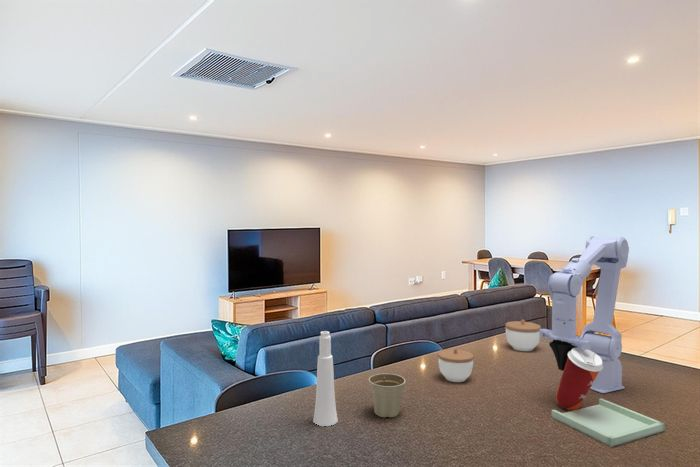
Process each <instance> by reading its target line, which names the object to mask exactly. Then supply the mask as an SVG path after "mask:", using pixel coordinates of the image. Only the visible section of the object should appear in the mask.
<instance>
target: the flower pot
mask: <svg viewBox="0 0 700 467" xmlns="http://www.w3.org/2000/svg"><path fill="white" fill-rule="evenodd" d="M368 383H369V384H370V387H371V388H370V389H371V394H372V400H373V409H374V410H373V411H374V414H375V415H377V416H378V417H380V418H387V417H388V418H395V417H397V416H398V415H399V413H400V407H401V400H402V394H403V389H404V386H405V384H406V379H405V377H403V376H402V375H399V374H395V373H377V374H372V375H371V376H370V377H368Z"/></svg>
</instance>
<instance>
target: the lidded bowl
mask: <svg viewBox="0 0 700 467" xmlns="http://www.w3.org/2000/svg"><path fill="white" fill-rule="evenodd" d="M504 325H505V326H504V327H505V336H506V340H507V342H508V344H509V346H511V347H512V349H513V350H515V351H519V352H531V351H533V350H534V349H535V348H536V347H537V346H538V344H539V342H540V339H541V336H539V330H540V329H542V326H541V325H540V324H537V323H535V322H530V321H526V320H525V319H520V320H519V321H518V320H516V321H514V320H513V321H507V322H505V324H504Z"/></svg>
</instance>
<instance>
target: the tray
mask: <svg viewBox="0 0 700 467" xmlns="http://www.w3.org/2000/svg"><path fill="white" fill-rule="evenodd" d="M551 418H552V419H554V420H555V421H558V422H560V423H561V424H563V425H565V426H567V427H570V428H572V429H574V430H576V431H578V432H580V433H582V434H584V435H586V436H589V437H590V438H592V439H594V440H596V441H598V442H600V443H602V444H604V445H606V446H609V447H610V448H614V447H617V446H621V445H623V444H624V445H625V444H627V443H630V442H634V441H637V440H640V439H644V438H646V437H650V436H653V435H656V434H660V433H663V432H665V428H666V427H665V423H664V422H661V421H659V420H657V419H654V418H652V417H649V416H646V415H644V414H642V413H639V412H636V411H634V410H631V409H629V408H627V407H624V406H622V405H619V404H616V403H614V402H611V401H609V400H606V399H604V398H599V399H598V404H595V405H591V406H586V407H582V408H579V409H578V410H574V411H571V410H568V411H566V412H560V411H558V410H556V409H552V410H551Z"/></svg>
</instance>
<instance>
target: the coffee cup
mask: <svg viewBox="0 0 700 467" xmlns="http://www.w3.org/2000/svg"><path fill="white" fill-rule="evenodd" d="M602 369H603V365H602V359H601V358H600V357H599V356H598V355H597V354H596V353H594V352H592V351H590V350H588V349H587V350H584V349H582V348H580V347H576V348H573V349H572V350H571V351H569V352H568V359H567V362H566V365H565V368H564V371H562V374H561V378H560V381H559V384H558V387H557V390H556V394H555V401H556V403H557V404H558V405H559V406H560V407H562V408H563V409H566V410H568V411H574V410H578V409H581V406H582V404H583V402H584V400H585V399H586V397H587V395H588V393H589V392H590V390H591V389H590V388H591V386H592V384H593V382H594V380H595V379H596V377H597V375H598V373H599V371H601V370H602Z"/></svg>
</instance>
